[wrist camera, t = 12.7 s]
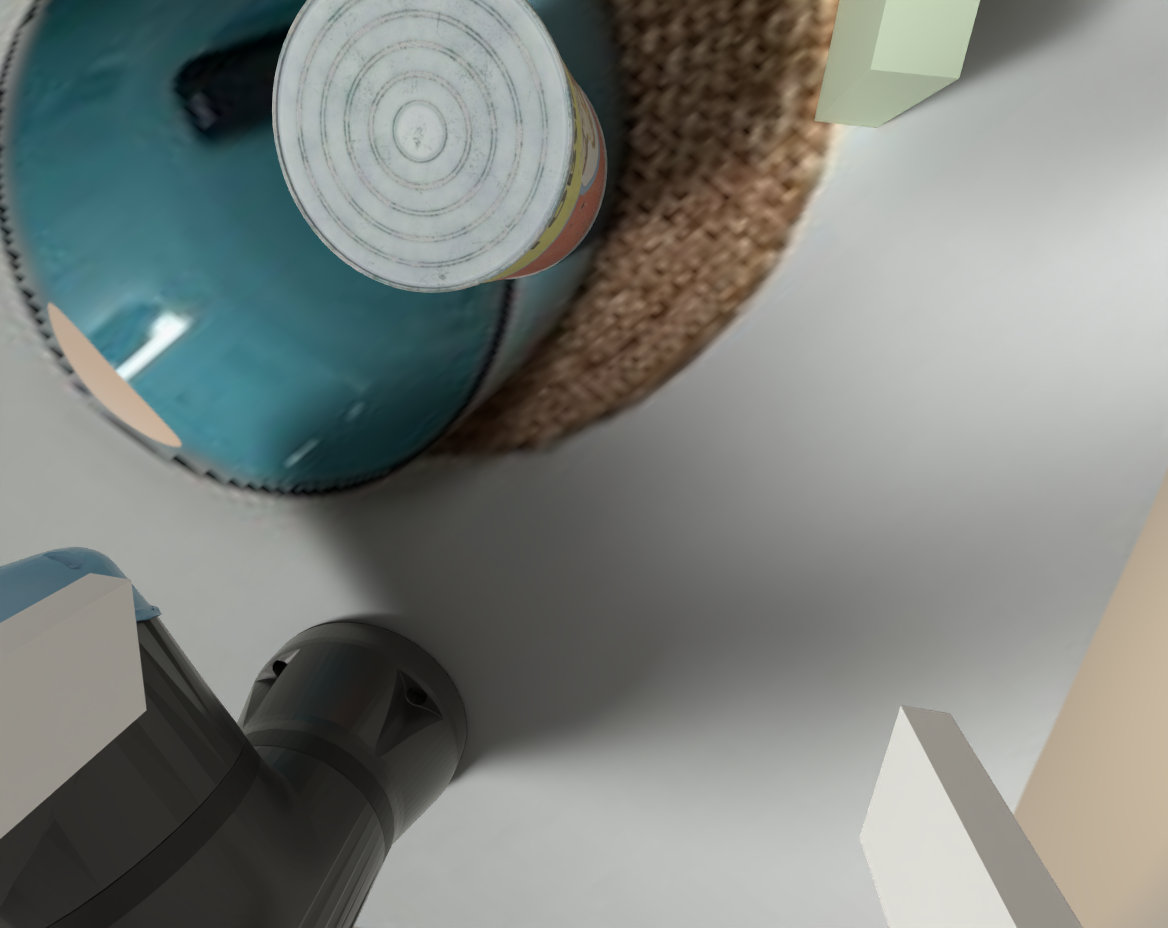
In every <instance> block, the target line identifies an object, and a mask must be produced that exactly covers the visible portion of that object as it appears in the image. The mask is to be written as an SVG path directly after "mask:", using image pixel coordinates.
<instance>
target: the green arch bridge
mask: <svg viewBox="0 0 1168 928" xmlns="http://www.w3.org/2000/svg"><path fill="white" fill-rule="evenodd" d="M979 3H980V0H840V1H839V6H838V11H837V15H836V20H835V25H834V30H833V35H832V39H831V44H830V49H829V54H828V58H827V63H826V68H825V73H824V77H823V82H822V87H821V92H820V97H819V101H818V106H817V111H816V116H815V120H814V121H818V122H827V123H836V124H846V125H855V126H864V127H873V128H877V127H879V126H881V125H882V124H884V123H886V122H887V121H889V120H891V119H892V118H894V117H896V116H897V115H899V114H901V113H902V112H904V111H906V110H907V109H909V108H911V107H912V106H914V105H916V104H917V103H919V102H921V101H922V100H924V99H926V98H927V97H929V96H931V95H932V94H934V93H936V92H937V91H939V90H941V89H942V88H944V87H946V86H947V85H949V84H951V83H952V82H954V81H956V80H958V79H959V77H960V74H961V70H962V66H963V62H964V59H965V55H966V51H967V48H968V44H969V40H970V36H971V33H972V29H973V25H974V21H975V18H976V14H977V10H978V7H979Z"/></svg>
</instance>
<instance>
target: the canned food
mask: <svg viewBox="0 0 1168 928" xmlns="http://www.w3.org/2000/svg"><path fill="white" fill-rule="evenodd" d="M272 116H273V130H274V138H275V145H276V149H277V154H278V159H279V162H280V166H281V169H282V172H283V175H284V178H285V181H286V183H287V186H288V188H289V191H290V193H291V195H292V197H293V199H294V201H295V203H296V205H297V206H298V208H299V210H300V212H301V213H302V215H303V217H304V218H305V220H306V221H307V222H308V224H309V225H310V227H311V228H312V230H313V231H314V232H315V233H316V234H317V236H318V237H319V238H320V239H321V240H322V242H323V243H324V244H325V245H326V246H327V247H328V248H329V249H330V250H331V251H332V252H333V253H335V254H336V255H337V256H338V257H339V258H341V259H342V260H343V261H344V262H345V263H347V264H348V265H350V266H351V267H353V268H354V269H356V270H357V271H359V272H361V273H362V274H364V275H366V276H368V277H369V278H372V279H374V280H376V281H378V282H381V283H383V284H386V285H389V286H392V287H395V288H399V289H403V290H408V291H415V292H425V293H439V292H450V291H455V290H460V289H465V288H468V287H472V286H475V285H478V284H480V283H485V282H491V281H496V280H502V279H516V278H523V277H528V276H531V275H534V274H538V273H540V272H542V271H545V270H547V269H549V268H551V267H553V266H554V265H556V264H558V263H559V262H560V261H562V260H563V259H565V258H566V257H567V256H568V255H569V254H570V253H572V252H573V251H574V250H575V248H576V247H577V246H578V245H579V244H580V243H581V242H582V240H583V239H584V238H585V236H586V235H587V233H588V232H589V230H590V229H591V227H592V225H593V223H594V221H595V219H596V217H597V215H598V212H599V210H600V207H601V204H602V200H603V197H604V192H605V187H606V180H607V151H606V145H605V139H604V135H603V131H602V127H601V125H600V122H599V119H598V116H597V114H596V112H595V110H594V108H593V106H592V104H591V102H590V101H589V99H588V97H587V96H586V94H585V93H584V91H583V90H582V89H581V87H580V86H579V85H578V84H577V83H576V81H575V80H574V78H573V76H572V75H571V73H570V71H569V70H568V68H567V66H566V65H565V63H564V62H563V60H562V58H561V56H560V53H559V51H558V49H557V47H556V45H555V43H554V41H553V38H552V36H551V35H550V33H549V31H548V30H547V28H546V26H545V25H544V23H543V21H542V20H541V18H540V17H539V15H538V14H537V13H536V11H535V10H534V8H533V7H532V6H531V5H530V3H529V2H528V1H527V0H307V1H306V3H305V4H304V5H303V7H302V8H301V10H300V11H299V13H298V14H297V16H296V18H295V20H294V22H293V24H292V26H291V27H290V29H289V32H288V34H287V37H286V39H285V41H284V44H283V47H282V50H281V53H280V56H279V60H278V64H277V69H276V73H275V80H274V87H273V101H272Z"/></svg>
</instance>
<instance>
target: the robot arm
mask: <svg viewBox="0 0 1168 928" xmlns="http://www.w3.org/2000/svg"><path fill="white" fill-rule="evenodd" d="M161 614H162V613H161V612H160V610H159V609H158V608H157V607H156V606H151V605H149V604H148V602H147V601H146V600H145V599H144V598H143V596H142V595H141V594H140V593H139V592H138V590H137V589H136V588H135V587H134V586H133V584H132V583H131V580H130V579H128V578H127V577H126V576H125V575H124V574H123V573H122V571H121V570H120V569H119V568H118V567H117V565H116V564H115V563H114V562H113V561H112V560H111V559H110V558H108V557H107V556H105V555H104V554H102V553H100V552H98V551H95V550H92V549H88V548H82V547H68V548H61V549H55V550H51V551H47V552H44V553H41V554H37V555H34V556H31V557H28V558H25V559H22V560H19V561H16V562H13V563H10V564H7V565H4V566H1V567H0V928H353V927H354V925H355V923H356V921H357V919H358V916H359V914H360V912H361V910H362V908H363V906H364V903H365V901H366V899H367V897H368V895H369V893H370V890H371V888H372V886H373V884H374V882H375V880H376V877H377V875H378V873H379V871H380V869H381V867H382V864H383V862H384V860H385V858H386V856H387V854H388V852H389V850H390V848H391V846H392V844H393V843H394V842H395V841H396V840H397V839H398V838H399V837H400V836H401V835H402V834H403V833H404V832H405V831H406V830H407V829H408V828H409V827H410V826H411V825H412V824H413V823H414V822H415V821H416V820H417V819H418V818H419V817H420V816H421V815H422V814H423V813H424V812H425V811H426V810H427V809H428V808H429V807H430V805H431V804H432V803H433V802H434V801H435V800H436V799H437V798H438V797H439V796H440V795H441V794H442V793H443V791H444V790H445V788H446V787H447V785H448V784H449V782H450V780H451V779H452V776H453V774H454V772H455V769H456V767H457V765H458V762H459V760H460V758H461V755H462V753H463V750H464V746H465V742H466V731H467V727H466V717H465V712H464V708H463V705H462V701H461V699H460V696H459V694H458V692H457V690H456V688H455V686H454V685H453V683H452V681H451V680H450V678H449V677H448V675H447V674H446V673H445V672H444V670H443V669H442V668H441V667H440V666H439V665H438V663H437V662H436V661H435V660H434V659H433V658H432V657H430V656H429V655H428V654H427V653H426V652H424V651H423V650H422V649H421V648H419V647H418V646H416V645H415V644H413V643H412V642H410V641H408V640H407V639H405V638H403V637H401V636H399V635H397V634H395V633H392V632H390V631H387V630H385V629H382V628H378V627H375V626H370V625H366V624H359V623H331V624H325V625H320V626H317V627H313V628H311V629H308V630H306V631H304V632H302V633H300V634H298V635H297V636H295V637H294V638H292V639H291V640H290V641H289V642H287V643H286V644H285V645H284V646H283V647H282V648H281V649H280V650H279V651H278V652H277V653H276V654H275V655H274V656H273V657H272V658H271V659H270V661H269V662H268V663H267V664H266V665H265V666H264V668H263V669H262V670H261V672H260V673H259V675H258V677H257V678H256V680H255V682H254V684H253V686H252V689H251V691H250V694H249V696H248V698H247V701H246V703H245V706H244V708H243V710H242V713H241V715H240V718H239V720H238V722H237V723H236V722H235V720H234V719H233V718H232V717H231V715H230V714H229V713H228V711H227V710H226V709H225V707H224V706H223V705H222V703H221V702H220V701H219V699H218V698H217V697H216V695H215V694H214V693H213V692H212V690H211V689H210V688H209V686H208V685H207V684H206V682H205V681H204V680H203V678H202V677H201V676H200V674H199V673H198V671H197V670H196V669H195V667H194V666H193V665H192V663H191V662H190V660H189V659H188V658H187V656H186V655H185V654H184V652H183V651H182V649H181V648H180V647H179V645H178V644H177V642H176V641H175V640H174V638H173V637H172V636H171V634H170V633H169V631H168V630H167V629H166V627H165V626H164V625H163V623H162V622H161V620H160V619H159V618H158V616H160V615H161ZM860 841H861V844H862V847H863V850H864V854H865V857H866V860H867V863H868V866H869V869H870V872H871V875H872V878H873V881H874V884H875V887H876V890H877V893H878V896H879V899H880V902H881V905H882V908H883V911H884V914H885V917H886V920H887V923H888V926H889V928H1083V927H1082V925H1081V924H1080V922H1079V920H1078V919H1077V917H1076V915H1075V914H1074V912H1073V911H1072V909H1071V908H1070V906H1069V904H1068V903H1067V901H1066V900H1065V898H1064V896H1063V895H1062V893H1061V891H1060V890H1059V888H1058V887H1057V885H1056V883H1055V882H1054V880H1053V878H1052V877H1051V875H1050V874H1049V872H1048V870H1047V869H1046V867H1045V866H1044V864H1043V862H1042V861H1041V859H1040V858H1039V856H1038V854H1037V853H1036V851H1035V849H1034V848H1033V846H1032V845H1031V843H1030V841H1029V840H1028V838H1027V837H1026V835H1025V833H1024V832H1023V830H1022V828H1021V827H1020V825H1019V824H1018V822H1017V821H1016V819H1015V817H1014V816H1013V814H1012V812H1011V811H1010V809H1009V808H1008V806H1007V804H1006V803H1005V801H1004V799H1003V798H1002V796H1001V795H1000V793H999V791H998V790H997V788H996V787H995V785H994V783H993V782H992V780H991V779H990V777H989V775H988V774H987V772H986V770H985V769H984V767H983V766H982V764H981V762H980V761H979V759H978V758H977V756H976V754H975V753H974V751H973V750H972V748H971V746H970V745H969V743H968V741H967V740H966V738H965V737H964V735H963V733H962V732H961V730H960V729H959V727H958V725H957V724H956V722H955V720H954V719H953V717H952V716H951V714H950V713H944V712H937V711H931V710H925V709H919V708H913V707H907V706H900V709H899V713H898V716H897V719H896V722H895V725H894V729H893V732H892V735H891V738H890V742H889V745H888V748H887V751H886V754H885V758H884V761H883V764H882V767H881V770H880V774H879V777H878V780H877V783H876V786H875V790H874V793H873V796H872V799H871V802H870V806H869V809H868V812H867V815H866V818H865V822H864V825H863V828H862V831H861V834H860Z"/></svg>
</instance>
